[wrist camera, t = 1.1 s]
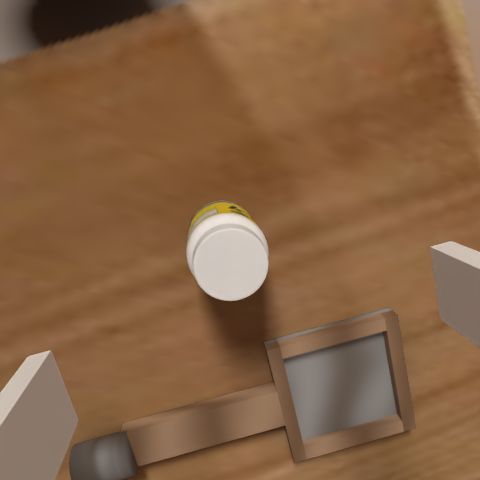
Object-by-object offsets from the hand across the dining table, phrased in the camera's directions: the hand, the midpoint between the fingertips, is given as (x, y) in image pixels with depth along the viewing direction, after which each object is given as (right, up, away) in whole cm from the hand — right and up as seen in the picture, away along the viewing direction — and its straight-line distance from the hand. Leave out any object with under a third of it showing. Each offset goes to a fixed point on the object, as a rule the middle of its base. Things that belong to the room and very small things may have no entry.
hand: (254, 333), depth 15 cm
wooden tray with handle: (0, -10, +19) cm, 22 cm away
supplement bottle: (-2, +4, +16) cm, 17 cm away
